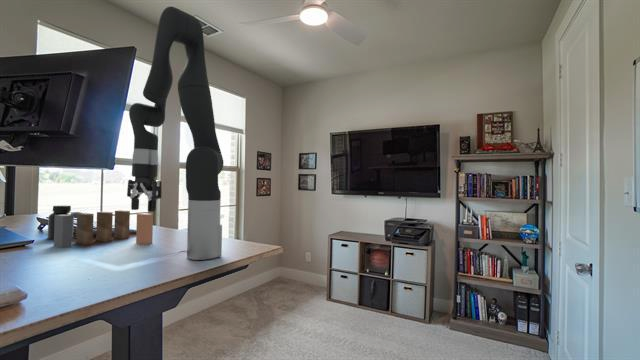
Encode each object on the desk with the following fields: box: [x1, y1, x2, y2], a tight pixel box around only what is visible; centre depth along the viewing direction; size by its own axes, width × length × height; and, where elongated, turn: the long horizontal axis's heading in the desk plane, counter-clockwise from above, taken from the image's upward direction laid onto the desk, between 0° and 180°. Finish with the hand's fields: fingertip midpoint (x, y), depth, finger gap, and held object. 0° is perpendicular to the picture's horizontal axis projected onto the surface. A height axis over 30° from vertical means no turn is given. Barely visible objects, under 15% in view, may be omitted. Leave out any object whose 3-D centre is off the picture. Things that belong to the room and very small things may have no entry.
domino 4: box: [135, 212, 154, 245], centre depth 100 cm, size 2×5×10 cm, turn 65°
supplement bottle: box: [47, 205, 75, 241], centre depth 104 cm, size 7×7×12 cm
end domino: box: [53, 215, 73, 249], centre depth 93 cm, size 2×5×10 cm, turn 65°
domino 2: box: [95, 211, 114, 243], centre depth 104 cm, size 2×5×10 cm, turn 65°
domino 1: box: [75, 212, 95, 246], centre depth 98 cm, size 2×5×10 cm, turn 65°
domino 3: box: [113, 209, 131, 240], centre depth 109 cm, size 2×5×10 cm, turn 65°
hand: (143, 210), depth 100 cm, fingers open, 8 cm apart
